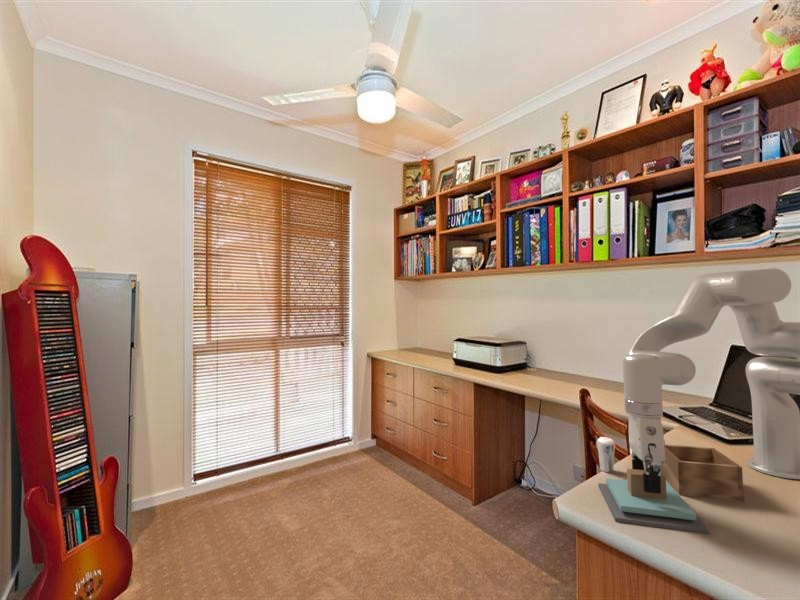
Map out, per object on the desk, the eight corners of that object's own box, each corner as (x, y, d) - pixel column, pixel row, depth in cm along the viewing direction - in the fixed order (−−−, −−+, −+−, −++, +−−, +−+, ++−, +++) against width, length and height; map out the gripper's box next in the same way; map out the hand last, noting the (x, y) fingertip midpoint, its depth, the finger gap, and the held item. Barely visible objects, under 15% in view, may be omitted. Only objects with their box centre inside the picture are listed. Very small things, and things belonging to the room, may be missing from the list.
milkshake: (591, 467, 109) (590, 432, 109) (609, 466, 109) (608, 432, 109) (601, 474, 104) (600, 438, 104) (619, 473, 105) (618, 437, 105)
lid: (670, 493, 91) (668, 464, 92) (696, 524, 78) (695, 490, 78) (606, 486, 96) (605, 458, 96) (621, 514, 82) (620, 482, 82)
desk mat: (674, 494, 92) (674, 491, 92) (709, 533, 76) (708, 529, 76) (598, 486, 97) (598, 483, 97) (615, 521, 81) (615, 517, 81)
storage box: (715, 478, 101) (713, 448, 101) (743, 501, 88) (742, 467, 89) (659, 472, 105) (658, 443, 105) (679, 494, 92) (677, 461, 92)
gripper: (677, 419, 78) (681, 505, 77) (648, 399, 95) (651, 470, 94) (636, 416, 80) (639, 500, 80) (615, 398, 97) (617, 467, 96)
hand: (646, 483), depth 87 cm, fingers open, 7 cm apart
